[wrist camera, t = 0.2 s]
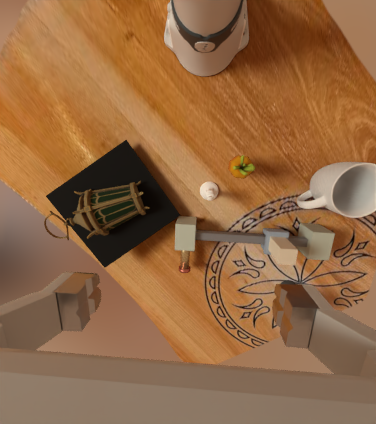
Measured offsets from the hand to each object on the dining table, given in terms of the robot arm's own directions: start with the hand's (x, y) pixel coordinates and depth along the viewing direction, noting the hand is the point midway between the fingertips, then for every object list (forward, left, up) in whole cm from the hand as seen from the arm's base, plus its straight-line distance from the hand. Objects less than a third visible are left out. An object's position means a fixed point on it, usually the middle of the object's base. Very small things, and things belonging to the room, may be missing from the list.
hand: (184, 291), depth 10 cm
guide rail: (+14, +14, -48) cm, 51 cm away
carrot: (-4, +9, -48) cm, 49 cm away
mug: (0, +31, -48) cm, 57 cm away
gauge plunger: (+20, -3, -45) cm, 49 cm away
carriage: (+14, +20, -44) cm, 51 cm away
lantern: (+9, -23, -48) cm, 54 cm away
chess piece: (+3, +3, -48) cm, 48 cm away
